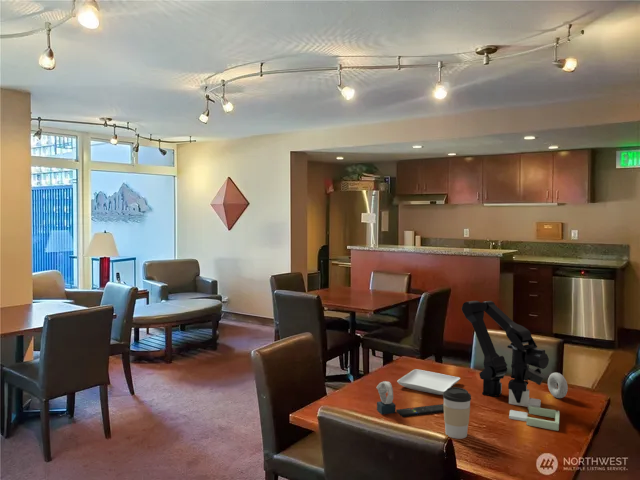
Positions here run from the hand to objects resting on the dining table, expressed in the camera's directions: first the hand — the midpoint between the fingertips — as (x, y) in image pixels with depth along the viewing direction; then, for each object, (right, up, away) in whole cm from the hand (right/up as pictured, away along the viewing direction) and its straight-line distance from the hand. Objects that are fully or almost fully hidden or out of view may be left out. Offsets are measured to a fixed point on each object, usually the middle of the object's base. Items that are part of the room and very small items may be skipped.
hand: (518, 401), depth 189 cm
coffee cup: (-32, -2, -26) cm, 41 cm away
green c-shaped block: (+2, -2, -16) cm, 16 cm away
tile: (-5, -2, -12) cm, 13 cm away
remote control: (-36, -2, -7) cm, 37 cm away
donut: (+18, -1, +8) cm, 20 cm away
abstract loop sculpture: (-52, -1, -8) cm, 53 cm away
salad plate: (-30, 0, +20) cm, 36 cm away
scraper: (+2, -1, -1) cm, 2 cm away
